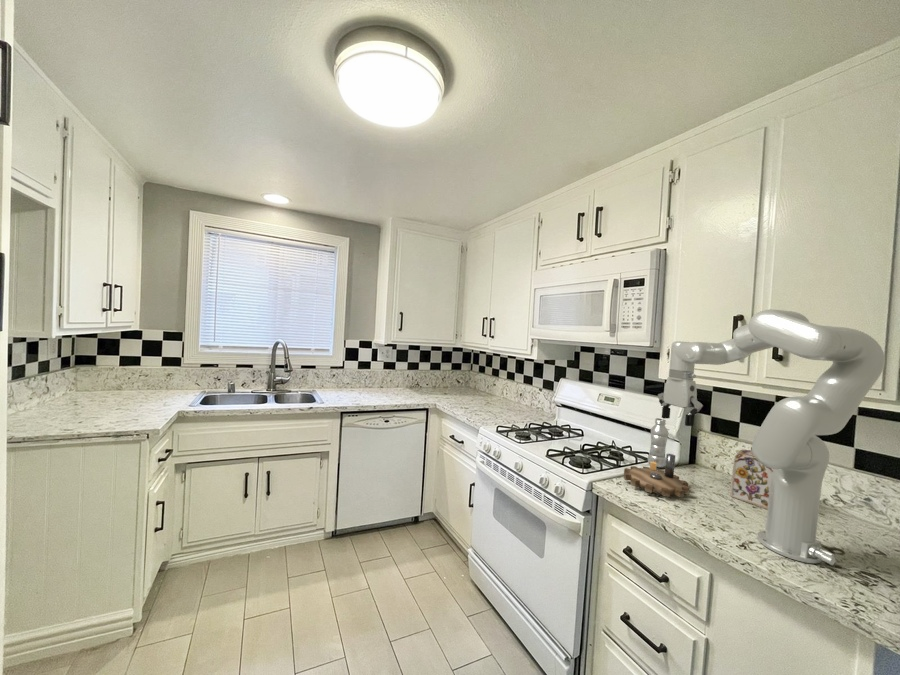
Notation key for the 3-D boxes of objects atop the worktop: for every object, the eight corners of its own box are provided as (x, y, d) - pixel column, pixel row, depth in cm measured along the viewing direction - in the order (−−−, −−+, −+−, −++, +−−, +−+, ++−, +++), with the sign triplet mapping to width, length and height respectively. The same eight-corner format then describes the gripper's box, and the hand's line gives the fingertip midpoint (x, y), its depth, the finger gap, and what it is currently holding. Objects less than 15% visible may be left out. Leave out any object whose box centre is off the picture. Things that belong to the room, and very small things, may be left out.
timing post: (655, 476, 138) (656, 464, 138) (649, 475, 139) (650, 462, 139) (655, 474, 140) (656, 462, 140) (649, 473, 141) (650, 461, 140)
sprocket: (658, 499, 115) (661, 469, 115) (611, 473, 135) (613, 447, 134) (703, 494, 122) (706, 465, 121) (652, 469, 141) (654, 444, 141)
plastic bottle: (644, 462, 153) (648, 416, 152) (661, 464, 152) (665, 418, 151) (650, 468, 147) (655, 420, 146) (668, 470, 146) (672, 422, 145)
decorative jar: (772, 512, 115) (778, 457, 114) (728, 496, 124) (733, 446, 124) (782, 503, 122) (787, 452, 121) (739, 489, 131) (744, 441, 131)
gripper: (712, 379, 122) (707, 428, 122) (668, 372, 138) (664, 415, 139) (695, 379, 119) (690, 429, 120) (653, 371, 136) (649, 415, 137)
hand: (676, 421), depth 129 cm, fingers open, 9 cm apart
